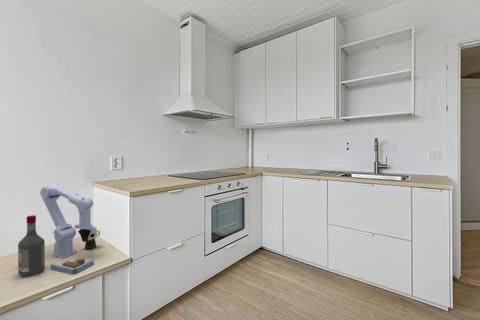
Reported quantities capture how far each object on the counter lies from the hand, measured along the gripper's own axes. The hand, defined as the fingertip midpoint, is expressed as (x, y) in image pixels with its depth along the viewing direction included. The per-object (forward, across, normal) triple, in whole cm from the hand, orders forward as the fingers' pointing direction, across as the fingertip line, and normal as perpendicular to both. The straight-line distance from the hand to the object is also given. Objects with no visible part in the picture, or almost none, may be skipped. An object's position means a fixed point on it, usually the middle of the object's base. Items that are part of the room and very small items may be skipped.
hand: (85, 241), depth 139 cm
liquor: (+10, +9, +23) cm, 26 cm away
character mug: (+10, +8, -10) cm, 17 cm away
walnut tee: (+10, -7, +11) cm, 16 cm away
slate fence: (+10, -5, +11) cm, 15 cm away
